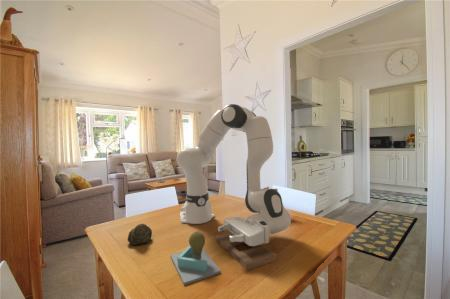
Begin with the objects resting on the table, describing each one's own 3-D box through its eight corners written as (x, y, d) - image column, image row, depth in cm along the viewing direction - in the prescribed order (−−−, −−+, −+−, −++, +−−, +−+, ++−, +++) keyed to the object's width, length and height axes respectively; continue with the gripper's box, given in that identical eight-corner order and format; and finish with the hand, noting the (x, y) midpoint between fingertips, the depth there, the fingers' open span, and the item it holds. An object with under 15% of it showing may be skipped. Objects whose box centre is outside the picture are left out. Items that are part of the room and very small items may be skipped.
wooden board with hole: (216, 240, 91) (216, 236, 91) (240, 234, 97) (240, 229, 97) (247, 270, 70) (246, 264, 70) (276, 259, 75) (276, 254, 75)
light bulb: (190, 256, 78) (189, 229, 77) (205, 255, 78) (204, 228, 78) (189, 265, 72) (187, 236, 72) (205, 264, 73) (204, 235, 72)
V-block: (170, 256, 80) (170, 246, 80) (201, 248, 85) (200, 239, 85) (184, 285, 64) (183, 272, 63) (220, 272, 69) (220, 261, 69)
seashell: (119, 236, 85) (144, 234, 85) (128, 211, 95) (151, 210, 95) (127, 251, 92) (151, 250, 92) (135, 227, 101) (157, 226, 102)
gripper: (241, 211, 95) (212, 217, 89) (271, 227, 76) (237, 236, 70) (242, 225, 95) (213, 232, 89) (271, 244, 77) (238, 255, 70)
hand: (224, 234), depth 79 cm, fingers open, 8 cm apart
